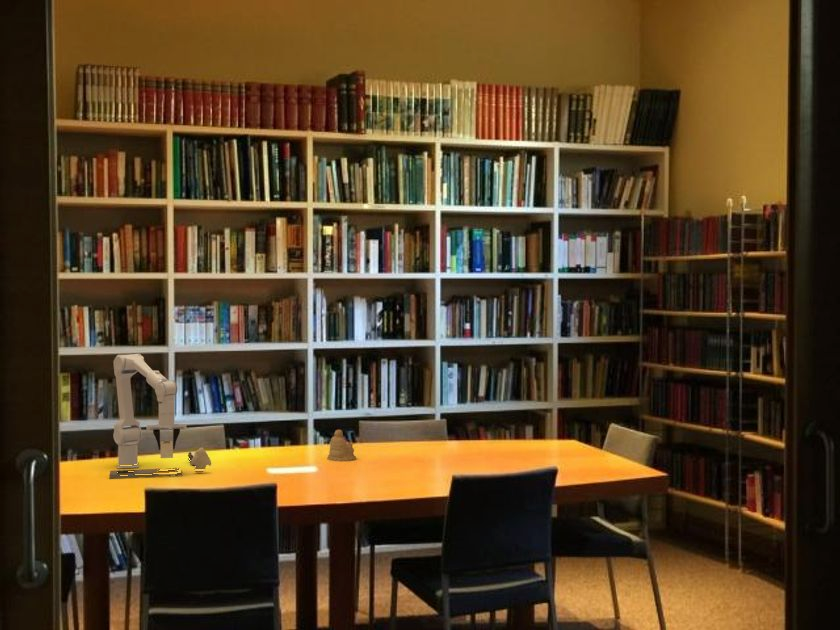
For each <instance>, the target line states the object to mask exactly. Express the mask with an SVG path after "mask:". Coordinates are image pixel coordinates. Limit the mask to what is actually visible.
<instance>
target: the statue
mask: <svg viewBox="0 0 840 630" xmlns="http://www.w3.org/2000/svg"><path fill="white" fill-rule="evenodd" d="M334 431H335V432H334V436H332V437H331V439H330V443H329V446H330V447H329V454H328V455H327V460H328V461H332V462H342V463H343V462H353V461H356V460H357V456H356V455H355V449H354V447H353V445H354V444H353V443H352V442H348V443H347V441H346V440H345V439H344V438H343V437H344V434H343V430H341V429H336V430H334Z"/></svg>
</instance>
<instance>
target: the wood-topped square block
mask: <svg viewBox="0 0 840 630" xmlns="http://www.w3.org/2000/svg"><path fill="white" fill-rule="evenodd" d="M160 447H161V450H159V452H160V459H172V458H174V449H173V440H172V441H171V440H170V439H169V440H168V439H166V440H163V441H160Z"/></svg>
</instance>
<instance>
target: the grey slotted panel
mask: <svg viewBox="0 0 840 630" xmlns="http://www.w3.org/2000/svg"><path fill="white" fill-rule="evenodd" d="M171 468H172V469H175V470H168V471H159V470H160V469H161V468H159V467H158V468H147V469H145V468H142V469H141V468H140V469H122V470H119V469H117V470H110V471H109V480H112V479H113V480H114V479H115V480H118V479H119V480H120V479H140V478H139V477H145V478H156V477H155V476H169V477H172V476H171V475H182V476H183V472H182V473H177V474H153V473H169V472H178V471H177V470H179V468H180V467H174V468H173V467H171ZM171 468H166V469H171ZM177 468H178V469H177ZM128 471H134V472H128ZM117 472H118V473H117ZM135 474H152V475H135ZM120 475H128V476H120Z"/></svg>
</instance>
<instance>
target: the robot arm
mask: <svg viewBox="0 0 840 630" xmlns="http://www.w3.org/2000/svg"><path fill="white" fill-rule="evenodd" d="M113 370H114V373H113V374H114V376H115V379H116V380H115V382H116V383H115V384H116V392H117V404H118V413H119V420H117V422H116V423H115V424H114V425H113V428H114V429H113V434H112V435H113V440H114V442H115V444H116V445H117V446H118V447H117V448H118V449H117V451H118V452H117V454H118V458H117V461H118V463H117V466H116V468H117V469H135V468H137V469H138V468H139V467H140V465H139V463H140V462H138V460H139V459H138V444H140V441H141V440H142V437H143V431H142V427H141V425H140V422H139V421H138V420H137V419H135V416H134V414H135V413H134V407H133V404H134V403H133V394H132V384H131V378H132V377H133V376H134V375H135V374H136V373H138V372H139V374H141V376H143V377H144V378H146V379H145V381H146V382H147V384H148V385H149V386H151V388H153V389H154V392H155V395H156V401H157V402H158V424H146V431H147V432H149V431H152V434H153V435H154V438H155V441H156V443H157V447H158V450H159V451H160V450H161V447H160V442H161V431H172V441H173V450H175V448H176V442H177V440H178V437H179V435H180V433H181V430H183V431H187V423H175V396H176V395H177V393H178V384H177V383H176V381H175V380H173V379H172V380H169V379H167V378H166V377H165V376H164V375H163V374H162V373H161V372H160V371H159V370H153V369H152V368H151V367H150V366H149V365H148V363H146V361H145V358H144V356H143V355H141V353H135V354H134V353H132V354H131V353H130V354H117V355H116V357H114V360H113ZM137 463H138V464H137ZM118 464H119V465H118ZM134 464H137V465H134ZM120 465H132V466H120Z"/></svg>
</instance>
